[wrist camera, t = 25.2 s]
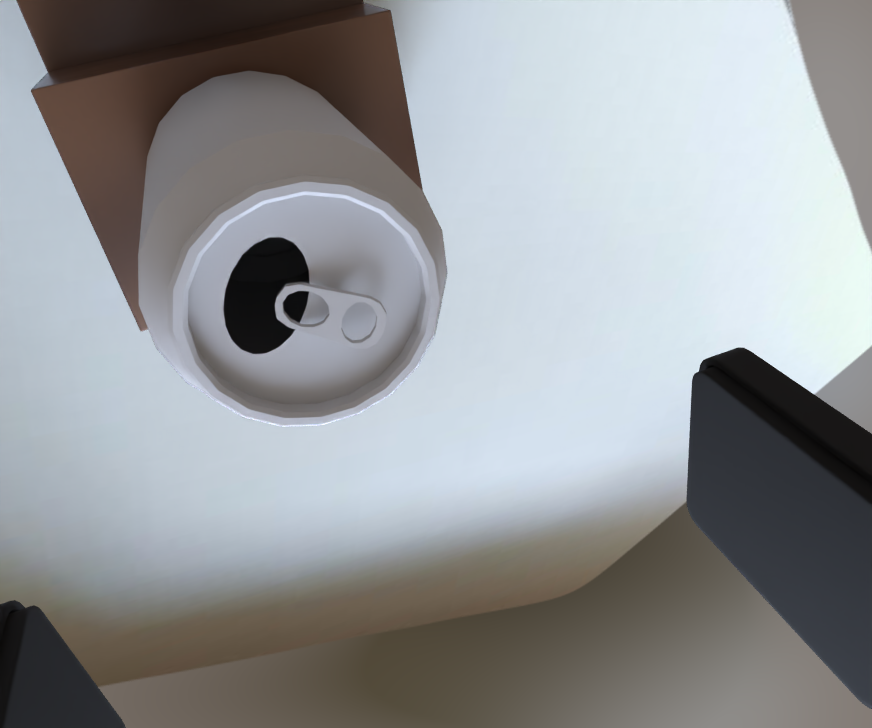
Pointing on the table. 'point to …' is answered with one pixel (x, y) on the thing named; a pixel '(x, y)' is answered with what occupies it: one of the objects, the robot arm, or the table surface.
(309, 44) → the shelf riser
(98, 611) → the table surface
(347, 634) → the table surface
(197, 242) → the can
